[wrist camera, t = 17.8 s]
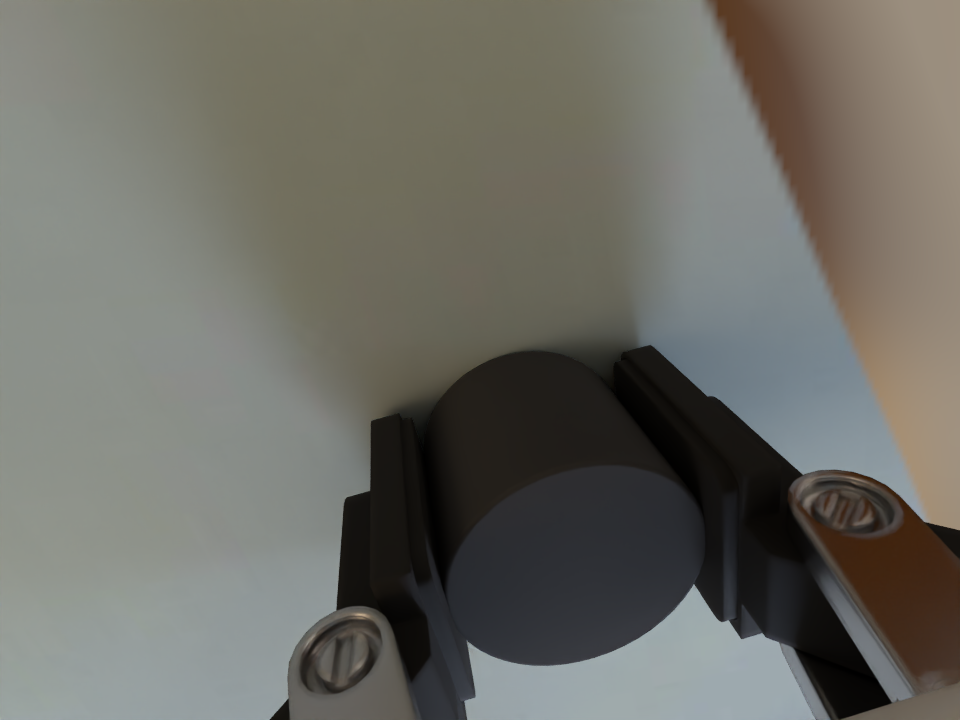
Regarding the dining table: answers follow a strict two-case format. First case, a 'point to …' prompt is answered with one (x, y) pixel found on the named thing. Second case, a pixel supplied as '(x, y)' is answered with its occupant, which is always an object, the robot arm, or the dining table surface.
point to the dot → (554, 513)
